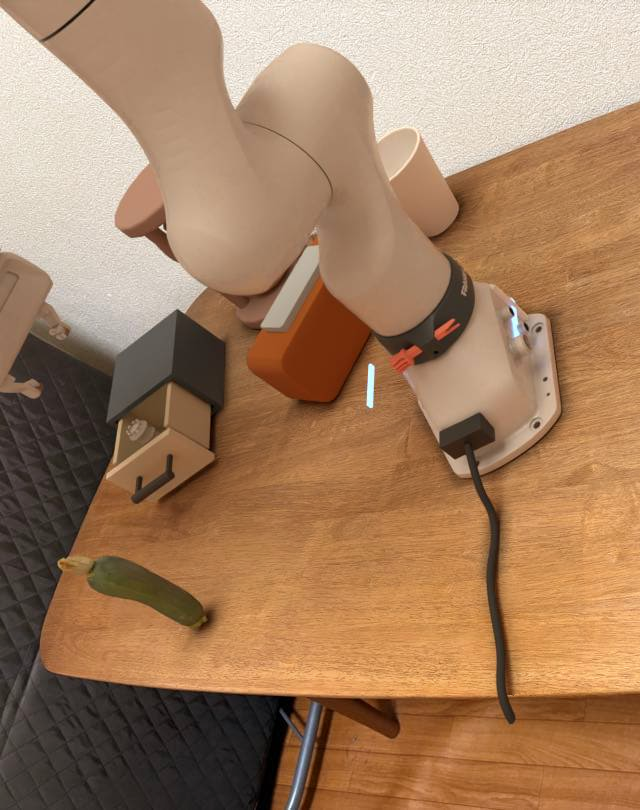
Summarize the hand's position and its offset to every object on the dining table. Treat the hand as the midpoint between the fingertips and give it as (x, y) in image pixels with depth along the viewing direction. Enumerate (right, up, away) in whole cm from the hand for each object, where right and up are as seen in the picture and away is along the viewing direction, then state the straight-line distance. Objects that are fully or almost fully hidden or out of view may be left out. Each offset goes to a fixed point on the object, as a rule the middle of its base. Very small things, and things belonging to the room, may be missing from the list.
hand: (53, 363), depth 108 cm
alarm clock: (+36, +5, +11) cm, 38 cm away
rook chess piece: (+9, -13, +16) cm, 22 cm away
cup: (+48, +22, +15) cm, 55 cm away
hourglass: (+20, +14, +30) cm, 39 cm away
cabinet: (+7, -4, +27) cm, 28 cm away
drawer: (+10, -13, +17) cm, 23 cm away
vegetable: (+22, -31, -4) cm, 38 cm away
